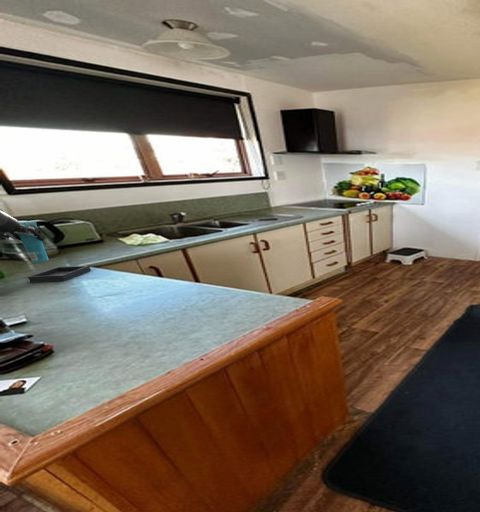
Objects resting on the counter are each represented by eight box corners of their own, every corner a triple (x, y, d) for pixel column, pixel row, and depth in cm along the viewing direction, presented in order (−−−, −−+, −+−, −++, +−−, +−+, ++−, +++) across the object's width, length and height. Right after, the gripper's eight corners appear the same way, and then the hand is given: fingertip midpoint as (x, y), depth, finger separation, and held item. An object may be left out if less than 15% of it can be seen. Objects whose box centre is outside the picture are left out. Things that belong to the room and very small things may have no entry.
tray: (30, 282, 122) (27, 276, 121) (59, 271, 134) (57, 266, 133) (64, 280, 123) (62, 275, 122) (91, 270, 135) (89, 265, 134)
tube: (54, 258, 133) (38, 220, 127) (50, 261, 129) (33, 221, 123) (31, 261, 129) (13, 222, 123) (26, 264, 125) (7, 223, 119)
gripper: (21, 211, 116) (56, 232, 131) (-23, 213, 113) (18, 234, 127) (14, 226, 113) (51, 245, 128) (-32, 228, 110) (11, 248, 124)
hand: (34, 239), depth 127 cm, fingers closed on tube, 6 cm apart
